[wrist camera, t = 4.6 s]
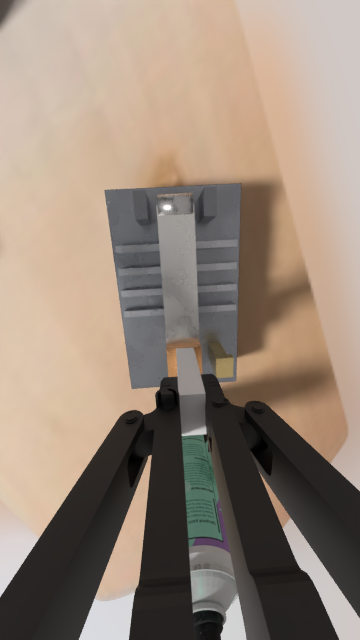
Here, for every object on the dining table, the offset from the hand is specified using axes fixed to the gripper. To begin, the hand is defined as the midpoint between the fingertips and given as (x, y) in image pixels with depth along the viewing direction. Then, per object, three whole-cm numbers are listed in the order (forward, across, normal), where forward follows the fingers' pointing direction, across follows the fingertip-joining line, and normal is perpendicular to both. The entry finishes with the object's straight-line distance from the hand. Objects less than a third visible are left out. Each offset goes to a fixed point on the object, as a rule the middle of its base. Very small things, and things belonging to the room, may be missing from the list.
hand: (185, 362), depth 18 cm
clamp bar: (+3, 0, +5) cm, 6 cm away
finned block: (+10, 0, +5) cm, 11 cm away
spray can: (+10, 0, -13) cm, 17 cm away
